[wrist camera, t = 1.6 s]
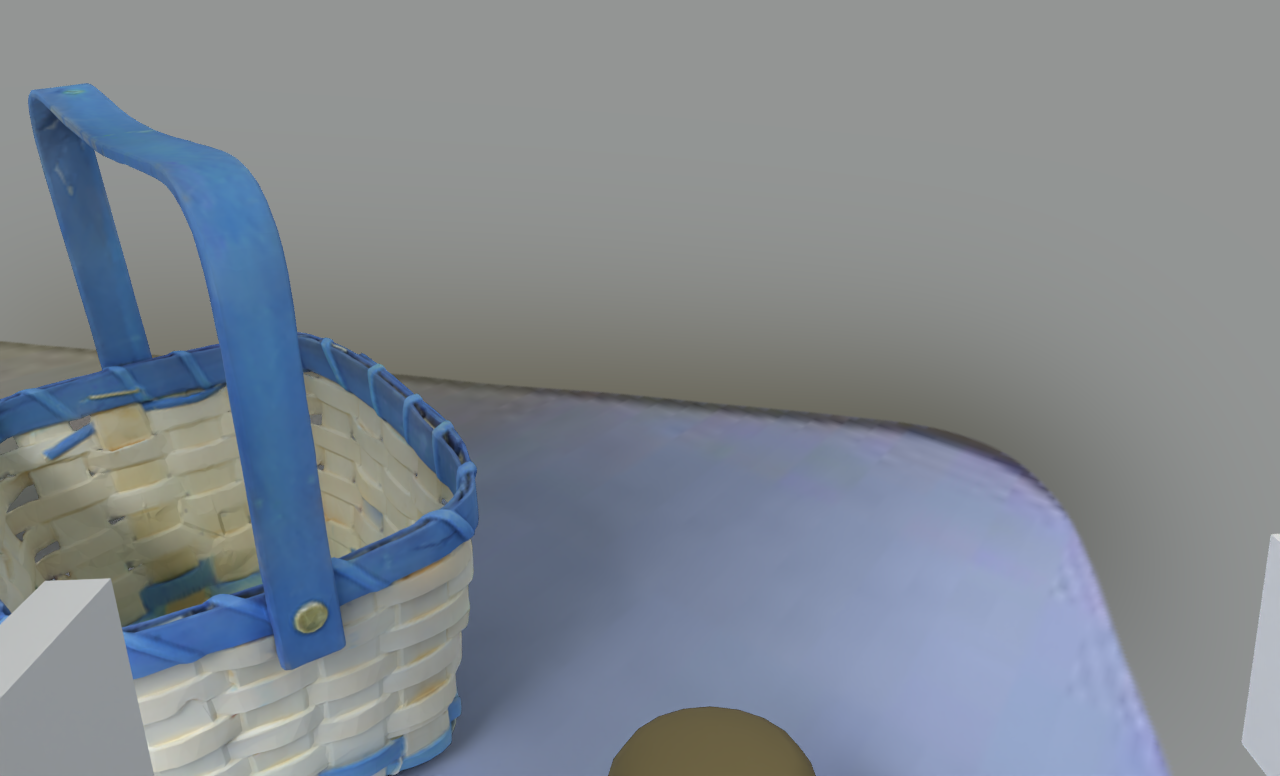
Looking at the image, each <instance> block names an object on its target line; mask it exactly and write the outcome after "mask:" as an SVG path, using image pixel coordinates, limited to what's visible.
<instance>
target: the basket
mask: <svg viewBox="0 0 1280 776" xmlns="http://www.w3.org/2000/svg"><path fill="white" fill-rule="evenodd" d="M28 104H29V113H30V118H31V124H32V129H33V133H34V138H35V142H36V145H37V149H38V153H39V156H40V160H41V164H42V168H43V172H44V175H45V178H46V181H47V185H48V188H49V191H50V194H51V198H52V201H53V205H54V208H55V212H56V215H57V219H58V222H59V226H60V229H61V232H62V236H63V239H64V242H65V246H66V249H67V252H68V255H69V259H70V262H71V266H72V269H73V272H74V276H75V279H76V282H77V286H78V289H79V292H80V296H81V299H82V302H83V305H84V309H85V312H86V315H87V318H88V322H89V325H90V328H91V332H92V336H93V339H94V342H95V346H96V350H97V353H98V357H99V360H100V364H101V367H102V371H100V372H96V373H93V374H89V375H85V376H80V377H75V378H71V379H67V380H64V381H60V382H56V383H52V384H49V385H45V386H41V387H38V388H32V389H25V390H22V391H19V392H17V393H15V394H13V395H11V396H9V397H6V398H3V399H0V444H1V443H2V442H3V441H5V440H6V439H7V438H10V437H12V436H13V438H14V440H15V442H16V444H17V446H18V448H17V449H15V450H12V451H9V452H6V453H4V454H1V455H0V479H1V478H4V479H2V480H1V481H0V624H1V623H2V622H3V621H4V620H5V619H6V618H7V617H8V616H10V615H11V614H12V613H13V612H14V611H15V610H16V609H17V608H18V607H19V606H20V605H21V604H22V603H23V602H24V601H25V600H26V599H27V598H28V597H29V596H30V595H31V594H32V593H33V592H34V591H35V590H36V589H37V588H38V587H39V586H40V585H41V584H42V583H43V582H44V581H51V580H52V579H54V578H55V581H56V580H82V579H108V578H111V581H112V586H113V590H114V595H115V599H116V604H117V608H118V613H119V618H120V622H121V627H122V631H123V636H124V640H125V645H126V649H127V654H128V658H129V663H130V668H131V672H132V677H133V681H134V686H135V690H136V695H137V699H138V704H139V708H140V713H141V718H142V722H143V727H144V731H145V736H146V740H147V745H148V749H149V754H150V758H151V763H152V767H153V772H154V776H386V775H395V774H397V773H399V771H401V770H405V769H408V768H412V767H414V766H417V765H419V764H422V763H424V762H427V761H429V760H431V759H432V758H434V757H435V756H437V755H438V754H440V753H441V752H443V751H444V750H445V749H446V748H447V747H448V746H449V745H450V744H451V742H452V732H453V730H454V728H455V725H456V720H457V719H456V718H457V717H458V716H460V714H461V711H462V704H461V699H460V697H458V692H457V685H456V674H455V673H456V671H457V669H458V667H459V665H460V663H461V658H462V633H461V631H462V630H463V629H464V628H466V627H467V625H468V620H469V611H470V602H469V595H468V584H469V583H470V582H471V581H472V578H473V573H474V569H473V550H472V542H471V537H472V536H473V535H474V534H475V529H476V527H477V525H478V520H479V515H478V503H477V493H476V484H475V476H476V473H477V468H476V466H475V464H474V463H473V462H471V460H470V457H469V454H468V451H467V449H466V445H465V444H464V442H463V440H462V439H461V437H460V436H459V435H458V433H457V432H456V431H455V429H454V427H453V425H452V423H451V422H450V421H449V420H445V419H444V418H443V417H442V416H441V415H440V414H439V413H438V412H437V411H435V410H434V409H433V408H432V407H431V406H429V405H428V404H427V403H425V402H424V401H423V399H422V398H421V396H420V395H418V394H413V393H412V392H411V391H410V390H409V389H408V388H407V387H406V386H404V385H403V384H402V383H401V382H400V381H399V380H397V379H396V378H395V377H394V376H393V375H392V374H391V373H389V372H388V371H386V369H385V368H384V366H383V365H381V364H377V363H376V362H374V361H373V360H372V359H370V358H369V357H368V356H366V355H365V354H363V353H361V354H359V355H358V354H356V353H354V352H353V351H351V350H349V349H347V348H345V347H343V346H341V345H338V344H336V343H334V342H333V340H331V339H330V338H319V337H316V336H314V335H311V334H307V333H300V332H297V327H296V319H295V312H294V305H293V299H292V293H291V287H290V281H289V275H288V270H287V265H286V261H285V256H284V251H283V247H282V244H281V240H280V237H279V233H278V230H277V227H276V224H275V221H274V219H273V216H272V213H271V211H270V208H269V205H268V203H267V200H266V198H265V196H264V194H263V192H262V190H261V188H260V186H259V184H258V182H257V181H256V180H255V178H254V177H253V176H252V174H251V173H250V171H249V170H248V169H247V168H246V167H245V166H244V165H243V164H242V163H241V162H240V161H239V160H238V159H236V158H235V157H233V156H232V155H230V154H228V153H226V152H223V151H221V150H218V149H215V148H212V147H209V146H205V145H201V144H197V143H194V142H191V141H188V140H184V139H180V138H176V137H173V136H169V135H167V134H164V133H161V132H158V131H155V130H153V129H151V128H149V127H147V126H146V125H143V124H142V123H140V122H138V121H136V120H135V119H133V118H131V117H130V116H128V115H127V114H126V113H125V112H123V111H122V110H121V109H120V108H118V107H117V106H116V105H115V104H114V103H113V102H112V101H111V100H110V99H109V98H107V97H106V96H105V95H104V94H103V93H101V92H100V91H99V90H98V89H97V88H95V87H94V86H93V85H91V84H88V83H86V84H78V85H70V86H62V87H55V88H46V89H37V90H32V91H31V92H30V95H29V98H28ZM94 150H95V151H97V152H98V153H100V154H102V155H103V156H105V157H107V158H110V159H112V160H114V161H116V162H118V163H122V164H126V165H129V166H130V167H132V168H135V169H137V170H139V171H142V172H144V173H146V174H148V175H150V176H152V177H154V178H156V179H158V180H159V181H161V182H162V183H163V184H165V185H166V186H167V187H168V188H169V190H170V191H171V192H172V194H173V195H174V197H175V198H176V200H177V202H178V203H179V205H180V207H181V209H182V211H183V213H184V216H185V218H186V220H187V222H188V224H189V227H190V229H191V231H192V234H193V237H194V240H195V243H196V247H197V250H198V254H199V257H200V260H201V265H202V268H203V271H204V276H205V280H206V284H207V288H208V292H209V297H210V302H211V307H212V312H213V316H214V322H215V326H216V331H217V336H218V340H219V344H215V345H210V346H206V347H201V348H196V349H192V350H188V351H173V352H171V353H169V354H167V355H163V356H159V357H156V358H152V356H151V353H150V348H149V345H148V341H147V338H146V334H145V331H144V327H143V324H142V320H141V317H140V314H139V310H138V306H137V303H136V299H135V296H134V292H133V288H132V284H131V280H130V277H129V273H128V269H127V266H126V263H125V259H124V256H123V252H122V248H121V245H120V241H119V238H118V234H117V231H116V227H115V223H114V220H113V216H112V213H111V209H110V205H109V202H108V198H107V195H106V191H105V187H104V184H103V180H102V177H101V173H100V169H99V166H98V162H97V159H96V155H95V151H94ZM311 371H312V372H314V373H317V374H318V375H319V376H320V377H311V376H310V375H307V374H303V372H311ZM226 385H227V386H226ZM225 386H226V388H225ZM221 389H222V390H221ZM308 394H310V395H308ZM229 411H230V412H229ZM315 414H322V424H321V425H320V426H319V425H316V424H312V423H311V422H310V416H309V415H315ZM88 415H90V416H91V420H90V423H89V424H87V425H86V426H84V427H83V428H81V429H79V430H75V431H73V430H72V427H71V426H70V424H69V422H70V421H73V420H78V419H81V418H84V417H86V416H88ZM154 434H157V435H155V436H154ZM352 435H353V437H354V438H355V440H354V439H352ZM381 439H383V442H382V441H381ZM98 449H102V450H103V451H102V450H98ZM317 465H324V469H323V470H320V469H318V468H317ZM89 471H90V472H93V473H95V474H94V476H92V475H91V474H90V472H89ZM416 473H417V477H416ZM7 475H15V476H13V477H7ZM354 482H355V483H354ZM33 484H34V486H35V488H36V491H37V494H38V498H39V499H38V500H34V501H30V502H27V503H25V504H24V505H22V506H19V507H17V508H15V509H14V510H12V511H10V512H8V513H7V510H8V508H9V506H10V505H11V504H12V503H13V502H14V501H15V500H16V498H17V497H18V496H19V495H20V493H21V492H22V491H23V489H24V488H26V487H27V486H30V485H33ZM442 499H445V501H446V502H447V504H446V505H443V504H442ZM6 513H7V514H6ZM123 516H125V517H124V518H123V519H122V520H121V521H118V522H117V523H116V524H110V523H109V521H111V520H117V519H118V518H120V517H123ZM22 531H26V532H25V533H24V534H23V541H21V540H19V539H18V538H17V537H16V535H17V534H18V533H20V532H22ZM55 541H58V542H59V546H60V549H59V550H56V551H53V552H51V553H49V554H47V555H46V556H44V557H43V558H42V559H41V560H40V561H39V562H37V563H36V564H35V559H34V558H35V556H36V554H37V553H38V552H39V551H41V550H42V549H43V548H45V547H47V546H48V545H50V544H52V543H54V542H55ZM140 564H141V565H140ZM133 567H134V568H133ZM129 568H133V569H132V570H130V571H129V570H128V569H129ZM68 572H69V575H70V576H68V575H65V574H66V573H68Z"/></svg>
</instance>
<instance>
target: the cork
mask: <svg viewBox="0 0 1280 776" xmlns="http://www.w3.org/2000/svg"><path fill="white" fill-rule="evenodd" d="M608 776H816V775H815V773H814V770H813V767H812V765H811V762H810V761H809V759H808V758H807V757H806V755H805V754H804V753H803V751H802V750H801V748H800V747H799V746H798V745H797V744H796V743H795V742H794V741H793V739H792V738H791V737H790V736H789V735H788V734H787V733H786V732H785V731H784V730H782V729H781V728H779V727H777V726H776V725H774V724H772V723H771V722H769V721H768V720H766V719H764V718H762V717H759V716H756V715H753V714H750V713H747V712H744V711H741V710H737V709H728V708H719V707H700V708H688V709H681V710H678V711H675V712H672V713H668V714H665V715H662V716H659V717H657V718H655V719H654V720H652V721H650V722H649V723H647V724H646V725H644V726H642V727H641V728H639V729H638V730H637V731H636V732H635V733H634V735H633V736H632V737H631V738H630V739H629V740H628V742H627V743H626V744H625V745H624V746H623V748H622V749H621V750H620V751H619V753H618V754H617V755H616V756H615V758H614V759H613V762H612V765H611V768H610V771H609V775H608Z"/></svg>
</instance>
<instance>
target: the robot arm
mask: <svg viewBox="0 0 1280 776" xmlns="http://www.w3.org/2000/svg"><path fill="white" fill-rule="evenodd" d="M1242 744H1243V746H1244V747H1245V748H1246V750H1247V751H1248V752H1249V753H1250V755H1251V756H1252V757H1253V759H1254V760H1255V761H1256V762H1257V764H1258V765H1259V766H1260V768H1261V769H1262V770H1263V771H1264V773H1265V774H1266V775H1267V776H1280V534H1271V537H1270V544H1269V552H1268V559H1267V566H1266V574H1265V580H1264V587H1263V594H1262V601H1261V608H1260V616H1259V622H1258V630H1257V637H1256V644H1255V651H1254V658H1253V665H1252V672H1251V679H1250V686H1249V693H1248V700H1247V708H1246V715H1245V721H1244V729H1243V737H1242ZM0 776H154V772H153V767H152V763H151V758H150V754H149V749H148V745H147V740H146V736H145V731H144V727H143V722H142V718H141V713H140V708H139V704H138V699H137V695H136V690H135V686H134V681H133V677H132V672H131V668H130V663H129V658H128V654H127V649H126V645H125V640H124V636H123V631H122V627H121V622H120V618H119V613H118V608H117V604H116V599H115V595H114V590H113V586H112V581H111V578H108V579H82V580H56V581H44V582H43V583H42V584H41V585H40V586H39V587H38V588H37V589H36V590H35V591H34V592H33V593H32V594H31V595H30V596H29V597H28V598H27V599H26V600H25V601H24V602H23V603H22V604H21V605H20V606H19V607H18V608H17V609H16V610H15V611H14V612H13V613H12V614H11V615H10V616H8V617H7V618H6V619H5V620H4V621H3V622H2V623H1V624H0Z"/></svg>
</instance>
